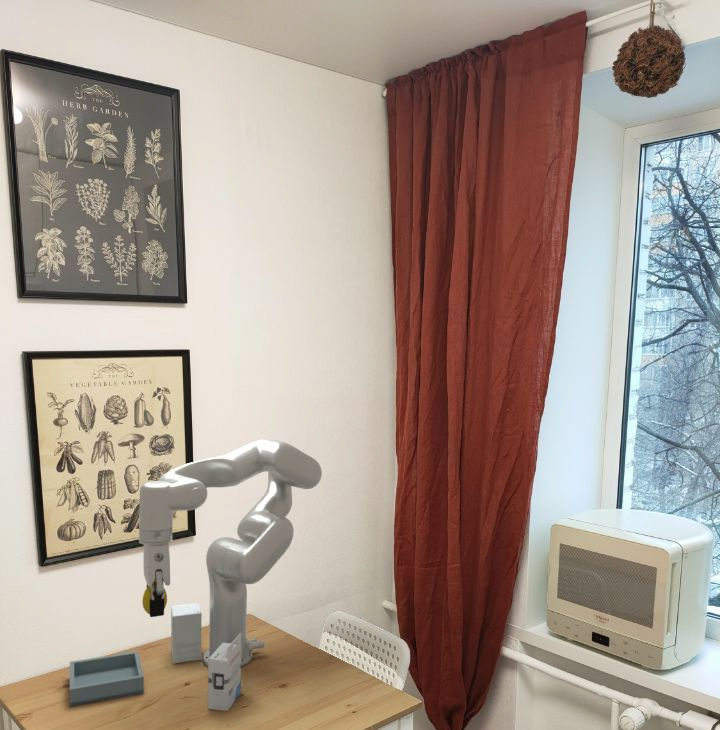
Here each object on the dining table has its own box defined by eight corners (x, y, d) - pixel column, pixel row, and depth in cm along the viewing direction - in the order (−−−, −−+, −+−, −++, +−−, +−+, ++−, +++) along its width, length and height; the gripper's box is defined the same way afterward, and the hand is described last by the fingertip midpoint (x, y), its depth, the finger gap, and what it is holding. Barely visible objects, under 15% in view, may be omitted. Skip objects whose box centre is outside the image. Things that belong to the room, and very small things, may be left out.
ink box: (222, 690, 161) (222, 629, 161) (241, 692, 160) (242, 631, 160) (207, 709, 153) (207, 645, 152) (227, 712, 152) (228, 647, 151)
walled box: (138, 666, 172) (138, 650, 172) (143, 693, 159) (143, 676, 159) (69, 677, 166) (69, 661, 165) (69, 706, 153) (69, 689, 153)
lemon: (145, 623, 156) (145, 588, 155) (140, 614, 160) (140, 581, 160) (169, 618, 158) (169, 585, 158) (163, 610, 163) (164, 577, 163)
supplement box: (198, 647, 183) (199, 601, 182) (201, 660, 176) (202, 612, 175) (170, 651, 180) (170, 604, 180) (172, 664, 173) (172, 615, 173)
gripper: (178, 543, 152) (177, 622, 153) (166, 524, 168) (165, 595, 169) (144, 546, 149) (143, 627, 150) (134, 526, 165) (133, 600, 165)
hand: (154, 610), depth 159 cm, fingers closed on lemon, 5 cm apart
